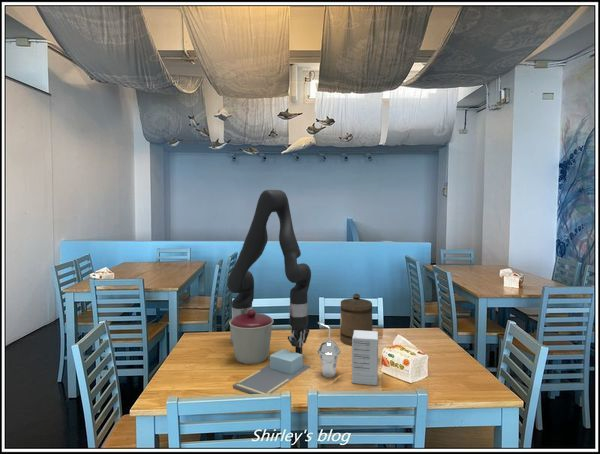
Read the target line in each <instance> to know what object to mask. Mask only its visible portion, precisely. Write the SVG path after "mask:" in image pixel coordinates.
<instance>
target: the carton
mask: <svg viewBox="0 0 600 454" xmlns="http://www.w3.org/2000/svg"><path fill="white" fill-rule="evenodd" d="M269 364H270V368H271V369H274V370H277V371H281V372H284V373H287V374H293V373H294V372H296V371H298V370H299V369H301V368H302V367H303V365H304V355H303V353H302V354H299V353H296V351H295V352H294V351H291V350H288V349H285V348H284V349H283V348H282V349H280V350H278V351H276V352H274V353H272V354H270V355H269Z"/></svg>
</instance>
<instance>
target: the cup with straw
mask: <svg viewBox="0 0 600 454" xmlns="http://www.w3.org/2000/svg"><path fill="white" fill-rule="evenodd" d="M317 324H318V325H320V326H322V327H325V328H326V329H328V339H327V340H324V341H323V342H322V343H321V345H320V346H319V347H318V349H317V354H319V357H320V363H321V372H322V373H321V374H322V376H323V377H325V378H333V377H335V376H336V371H337V366H338V365H337V364H338V360H339V355H340V354H341V349H340V348H339V346H338V344H337V343H336V342H335V341H333V340H331V327H330V326H329V325H326V324H324V323H322V322H320V321H318V322H317Z"/></svg>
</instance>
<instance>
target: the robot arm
mask: <svg viewBox="0 0 600 454" xmlns="http://www.w3.org/2000/svg"><path fill="white" fill-rule="evenodd" d="M290 208H291V207H290V203H289V200H288V196H287V194H286V192H285V191H283V190H282V189H265V190H263V191H262V192H261V193H260V195H259V197H258V200H257V203H256V207H255V211H254V215H253V218H252V221H251V224H250V227H249V229H248V231H247V234H246V237H245V239H244V242H243V244H242V247H241V250H240V252H239V254H238V257H237V259H236V262H235V264H234V265H233V267H232V269H231V271H230V273H229V275H228V277H227V284H226V285H227V289H228V290H229V291H230V292H231V293H232V294H237V295H236V297H234V298H233V299H232V300H231V319H233V318H234V317H236V316H238V315H241V314H247V312H248V311H249V310H253V301H254V297H255V294H254V293H255V279H254V276H253V274H252V272H250V271H249V270H250V268H251V267H252V266H253V265H254V264H255V263H256V262H257V261H258V259H260V257H261V256H262V255H263V252H264V250H265V249H266V247H267V245H268V244H267V243H268V240H269V239H268V237H269V236H268V230H267V223H268V221H269V218H270V217H271V214H272V213H276V214H277V218H278V220H279V232H278V233H279V234H278V240H279V241H278V243H279V246H280V250H281V252H282V255H283V262H284V273H285V277H286V279H287V280H288V281H289V282H290V283H292V284H295V285H294V286H293V287H292V288H291V289H290V290H289V309H288V311H289V325H290V326H291V334H290V335H288V336H287V340H288V341H289V343H290V345H291V346H292V347H294V348H295V353H299V354H303V346H304V344H306V342H307V339H308V337H309V333H310V328H307V326H309V307H308V306H309V305H308V292H309V287H310V284H311V279H312V270H311V268H310V266H309V265H308V264H307V263H304V262H303V263H302V262H301V263H298V259H299V258H300V257H301V255H302V254H301V252H302V251H301V249H300V246H299V243H298V241H297V238H296V235H295V230H294V225H293V220H292V214H291V209H290ZM229 326H230V325H229ZM230 344H232V345H233V339H232V331H231V326H230Z"/></svg>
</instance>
